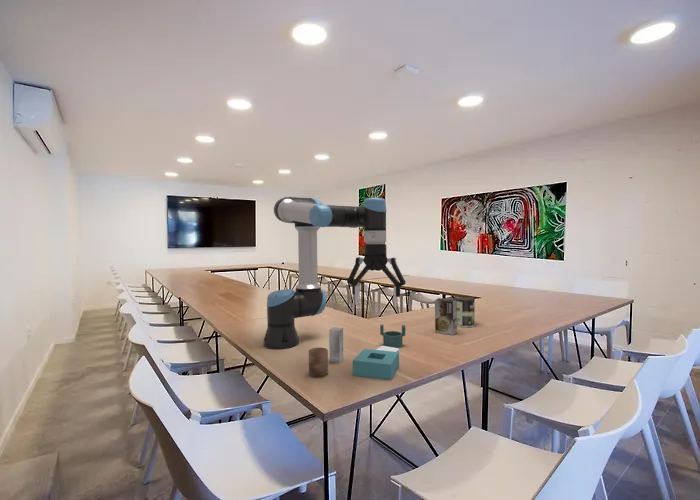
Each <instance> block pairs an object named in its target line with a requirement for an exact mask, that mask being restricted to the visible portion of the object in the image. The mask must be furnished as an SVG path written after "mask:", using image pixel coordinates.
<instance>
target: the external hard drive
mask: <svg viewBox="0 0 700 500" xmlns="http://www.w3.org/2000/svg"><path fill="white" fill-rule="evenodd" d="M375 350H383V351H393V352H399V353H400V351H401V349H400V348H394V347H388V346H383V345H381V346H379V347H378V348H376V349H375Z"/></svg>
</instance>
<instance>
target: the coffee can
mask: <svg viewBox="0 0 700 500" xmlns="http://www.w3.org/2000/svg"><path fill="white" fill-rule="evenodd" d="M453 299H456V305H457V327H460V328H474V327H475V326H476V324H475V323H476V322H475V321H476V320H475V314H476V313H475V311H476V310H475V300H476V299H475V298H474V297H471V296H470V297H469V296H456V297H453Z"/></svg>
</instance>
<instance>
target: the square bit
mask: <svg viewBox="0 0 700 500" xmlns="http://www.w3.org/2000/svg"><path fill="white" fill-rule="evenodd" d="M328 331H329V332H328V335H329V337H328V339H329V340H328V342H329V343H328V345H329V362H330V363H338V364H341V362H342V361H344V357H345V356H344V327H336V326H335V327H332V328H329V330H328Z"/></svg>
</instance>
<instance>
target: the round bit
mask: <svg viewBox="0 0 700 500" xmlns="http://www.w3.org/2000/svg"><path fill="white" fill-rule="evenodd" d="M328 375H329V350H328V349H327V348H325V347H313V348H312V347H311V348H310V349H309V350H308V376H309V377H311V378H313V379H314V378H315V379H319V378H325V377H326V376H328Z"/></svg>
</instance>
